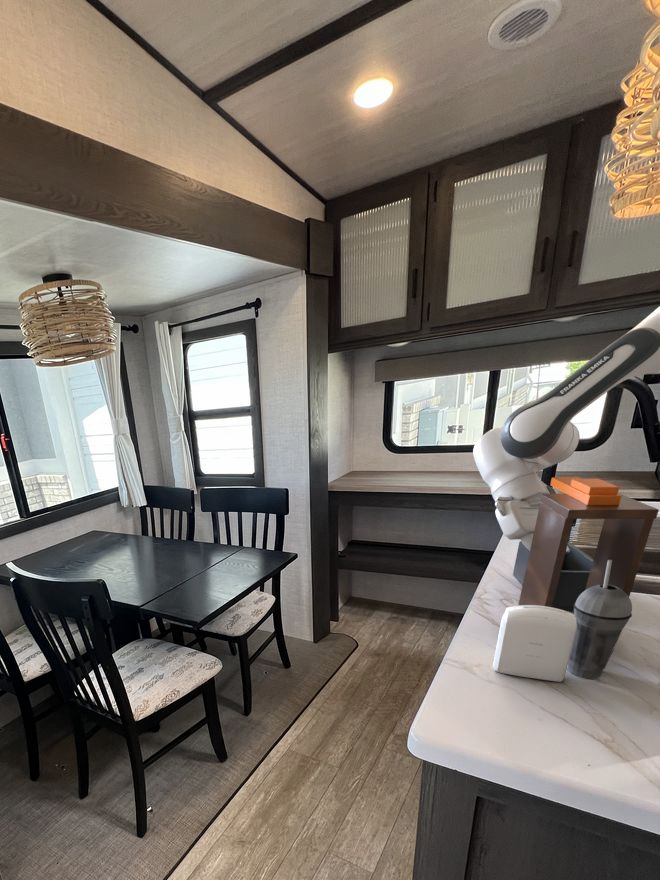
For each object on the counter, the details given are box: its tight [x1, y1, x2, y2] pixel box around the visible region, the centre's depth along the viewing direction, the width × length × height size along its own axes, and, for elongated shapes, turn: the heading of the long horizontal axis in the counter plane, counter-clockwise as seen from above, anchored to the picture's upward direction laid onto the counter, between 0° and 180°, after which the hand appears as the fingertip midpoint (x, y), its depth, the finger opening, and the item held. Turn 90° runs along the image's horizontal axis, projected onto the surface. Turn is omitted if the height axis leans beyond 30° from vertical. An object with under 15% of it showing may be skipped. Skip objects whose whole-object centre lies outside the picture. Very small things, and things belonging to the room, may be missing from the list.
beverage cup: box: [566, 560, 633, 680], centre depth 75 cm, size 7×7×20 cm
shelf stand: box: [517, 492, 660, 607], centre depth 85 cm, size 12×13×26 cm
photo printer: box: [492, 605, 577, 683], centre depth 77 cm, size 10×4×12 cm, turn 63°
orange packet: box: [549, 476, 622, 505], centre depth 84 cm, size 18×4×3 cm, turn 163°
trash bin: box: [512, 540, 594, 612], centre depth 106 cm, size 11×22×9 cm, turn 164°
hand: (553, 554), depth 95 cm, fingers open, 8 cm apart
